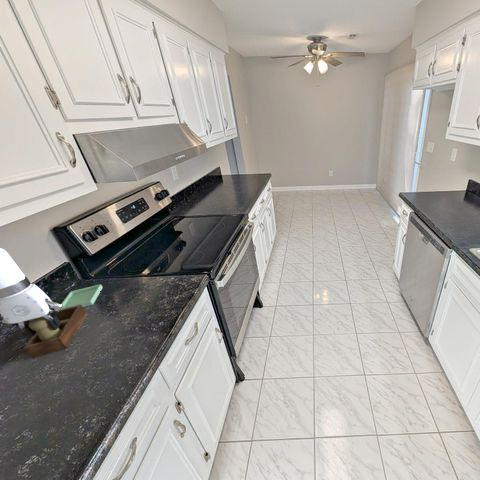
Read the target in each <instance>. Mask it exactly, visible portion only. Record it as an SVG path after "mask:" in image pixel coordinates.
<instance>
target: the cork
mask: <svg viewBox="0 0 480 480" xmlns="http://www.w3.org/2000/svg"><path fill="white" fill-rule="evenodd" d="M29 321H30V323H29V327H30V328H31V329H32V330H35V331H36V332H37V334H38V336H39V338H40V340H41V342H42V341H46V340H50V339H53V338H57V337H58V336H59V334H60V333H61V330H60V329H59V328H58V329H57V330H53V328H52V327H51V326H50V325H49V323H48V321H49V320H48V319H46V318H45V317H43V316H42V317H39V318H35V319H31V320H29Z"/></svg>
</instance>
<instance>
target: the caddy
mask: <svg viewBox="0 0 480 480" xmlns="http://www.w3.org/2000/svg"><path fill="white" fill-rule="evenodd" d="M84 308H85V307H82V305H77V306H73V307H69V308H65V309H62V310H59V312H58V313H57V315H56V316H57V318H58V319H59V320H60V322H61V324H60V326H59V327H58V328H59V329H60V330H61V333H60V334H59V336H58V337H57V338H53V339H50V340H46V341H42V342H41V340H40V338H39V336H38V334H37V333H36V334H35V335H34V336H31V338H30V340H29V341H28V342H27V343H26V345H25V346H24V350H25V351H26V352H27V353H28V354H29V355H30V356H31V357H32V358H33V359H35V358H39V357H42V356H46V355H48V354H51V353H52V354H53V353H56V352H59V351H62V350H65V349H66V350H67V349H68V348H69V346H70V345H71V343H72V341H73V339H74V338H75V336H76V334H77V333H78V331H79V329H80V328H81V326H82V324H83V322H84V320H85V319H86V317H87V316H88V312H87V311H86V309H84Z"/></svg>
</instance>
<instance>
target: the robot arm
mask: <svg viewBox="0 0 480 480" xmlns="http://www.w3.org/2000/svg"><path fill="white" fill-rule="evenodd" d="M61 304H62V303H58V302H55V301H52V299H51V298H50V297H49V296H48V295H47V294H46V293H45V292H44V291H43V290H42V288H40V287H39V286H38V285H36V284H35V283H31V281H30V280H29V278H28V276H26V275H25V273H24V272H23V271H22V270H21V268H20V267H19V266H18V264H17V263H16V262H15V260H14V259H13V257H11V255H10V254H9V252H8V251H7V250H5V249H4V248H2V247H0V315H1V317H2V320H1V323H2V324H6V325H7V324H8V325H12V326H16V327H18V328H20V329H24V330H25V332H26V333H27V334H29V336H30V337H33V336H34V335H35V334H36V333H37V332H36V331H35V330H32V329H31V328H30V327H29V323H30V321H31V320H33V319H35V318H39V317H42V316H43V317H45V318H46V319H48V320H49V321H48V323H49V325H50V326H51V327H52V328H53V330H57V329H58V327H59V326H60V324H61V322H60V320H59V319H58V318H57V316H56V315H57V313H58V312H59V310H60V309H61V308H62V306H63V305H61ZM53 309H54V310H53Z"/></svg>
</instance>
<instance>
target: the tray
mask: <svg viewBox="0 0 480 480" xmlns="http://www.w3.org/2000/svg"><path fill="white" fill-rule="evenodd" d="M102 290H103V285H102V284H101V283H100V284H96V285H91V286H88V287H84V288H80V289H75V290H71V291H69V293H68V295H67V296H66V297H65V298H64V299H63V301H62V302H61V303H60V304H61V305H63V306H62V308H61V309H60V310H62V309H65V308H69V307H73V306H77V305H82V307H83V308H85V307H88V306H92V305H93V306H94V303H96V300H97V298H98V297H99V295H100V293H101V292H102ZM100 291H101V292H100Z"/></svg>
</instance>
